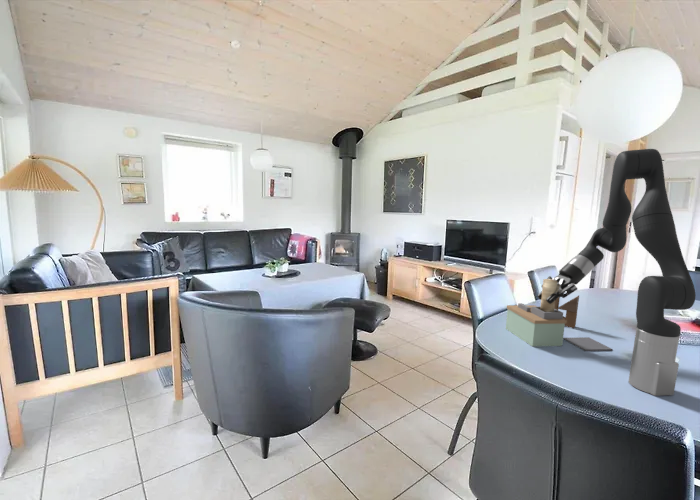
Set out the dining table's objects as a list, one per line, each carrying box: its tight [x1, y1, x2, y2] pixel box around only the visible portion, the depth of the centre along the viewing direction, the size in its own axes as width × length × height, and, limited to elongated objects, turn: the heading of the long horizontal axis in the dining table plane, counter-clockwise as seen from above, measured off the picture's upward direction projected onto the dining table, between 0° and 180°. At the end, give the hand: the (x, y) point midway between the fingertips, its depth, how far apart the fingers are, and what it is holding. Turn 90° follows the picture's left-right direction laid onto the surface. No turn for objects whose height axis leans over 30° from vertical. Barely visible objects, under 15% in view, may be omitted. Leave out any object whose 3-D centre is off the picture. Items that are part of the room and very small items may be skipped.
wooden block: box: [554, 295, 580, 329], centre depth 151 cm, size 4×11×18 cm, turn 46°
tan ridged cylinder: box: [539, 278, 557, 312], centre depth 130 cm, size 5×5×14 cm
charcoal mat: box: [563, 336, 613, 352], centre depth 130 cm, size 11×11×1 cm
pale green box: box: [505, 303, 567, 348], centre depth 135 cm, size 19×13×13 cm
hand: (543, 299), depth 130 cm, fingers closed on tan ridged cylinder, 4 cm apart
